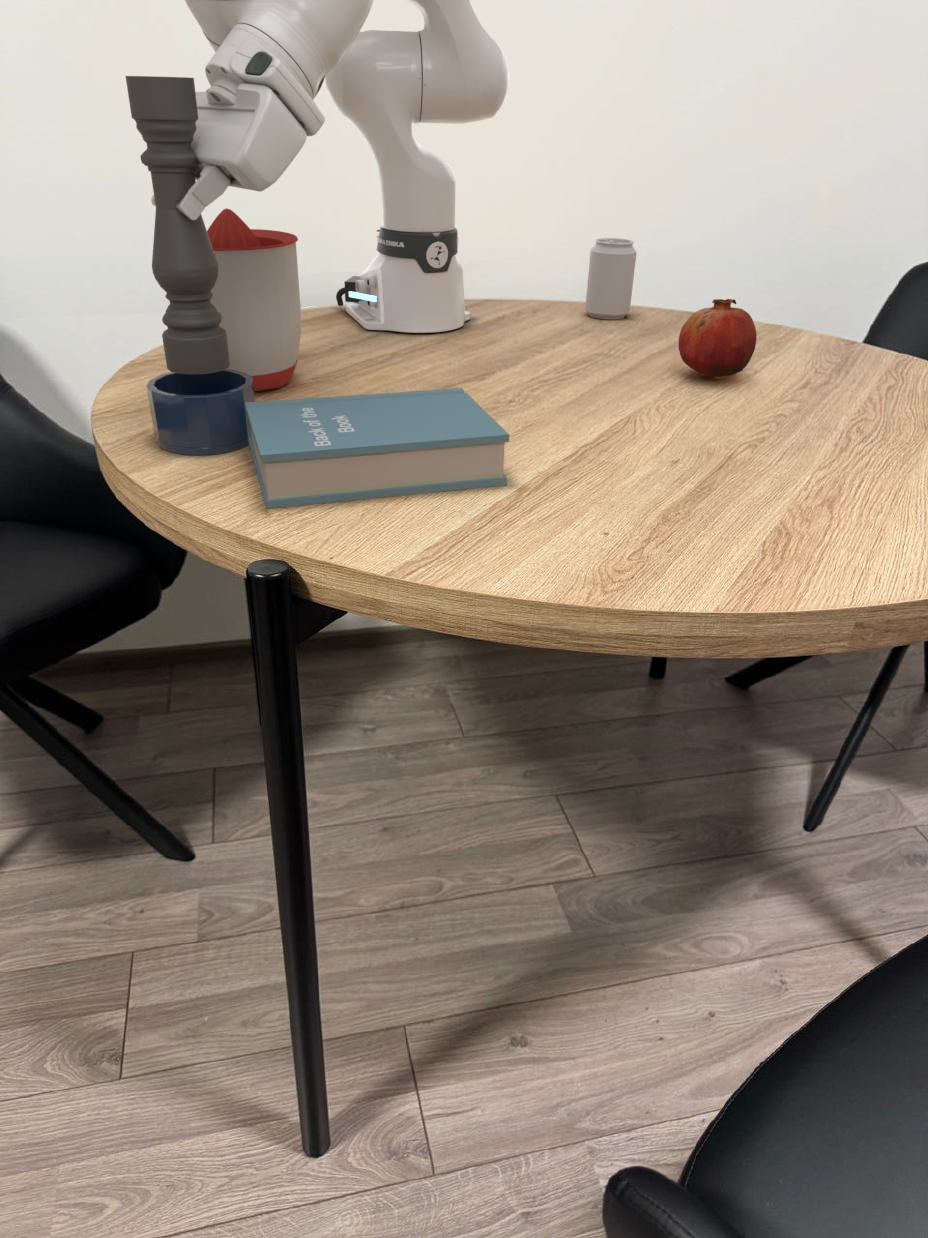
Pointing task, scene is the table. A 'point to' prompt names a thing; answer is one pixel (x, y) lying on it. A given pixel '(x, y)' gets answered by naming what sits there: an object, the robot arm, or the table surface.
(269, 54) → the robot arm
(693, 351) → the fruit
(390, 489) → the book
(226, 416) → the socket cup
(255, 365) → the citrus juicer
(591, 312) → the can
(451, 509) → the table surface
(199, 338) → the candle holder
